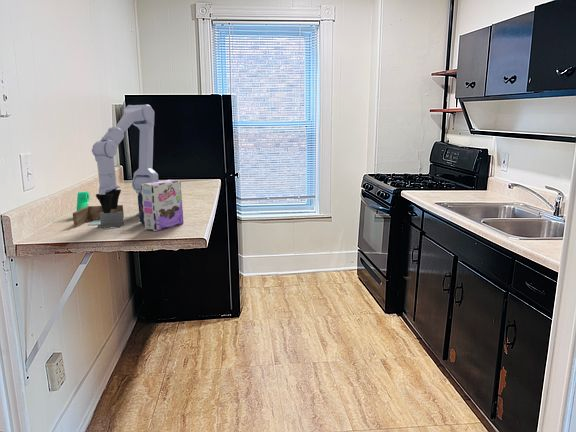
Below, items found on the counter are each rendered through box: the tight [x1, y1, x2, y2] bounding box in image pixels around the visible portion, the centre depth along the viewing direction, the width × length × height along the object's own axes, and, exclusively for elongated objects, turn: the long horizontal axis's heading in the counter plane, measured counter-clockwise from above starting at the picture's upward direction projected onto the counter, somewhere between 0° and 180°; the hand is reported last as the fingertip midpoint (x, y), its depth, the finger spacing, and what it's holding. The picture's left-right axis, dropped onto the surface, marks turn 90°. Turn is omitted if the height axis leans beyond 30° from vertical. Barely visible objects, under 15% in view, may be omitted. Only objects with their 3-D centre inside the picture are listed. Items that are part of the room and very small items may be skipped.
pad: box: [87, 219, 101, 226], centre depth 172 cm, size 9×5×1 cm, turn 4°
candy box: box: [141, 179, 184, 232], centre depth 160 cm, size 14×6×16 cm, turn 148°
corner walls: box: [72, 204, 125, 228], centre depth 172 cm, size 14×14×5 cm
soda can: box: [137, 191, 144, 226], centre depth 167 cm, size 7×7×12 cm
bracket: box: [96, 211, 125, 229], centre depth 164 cm, size 8×5×5 cm, turn 94°
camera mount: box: [76, 191, 90, 211], centre depth 184 cm, size 12×8×10 cm, turn 8°
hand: (110, 211), depth 165 cm, fingers open, 7 cm apart
